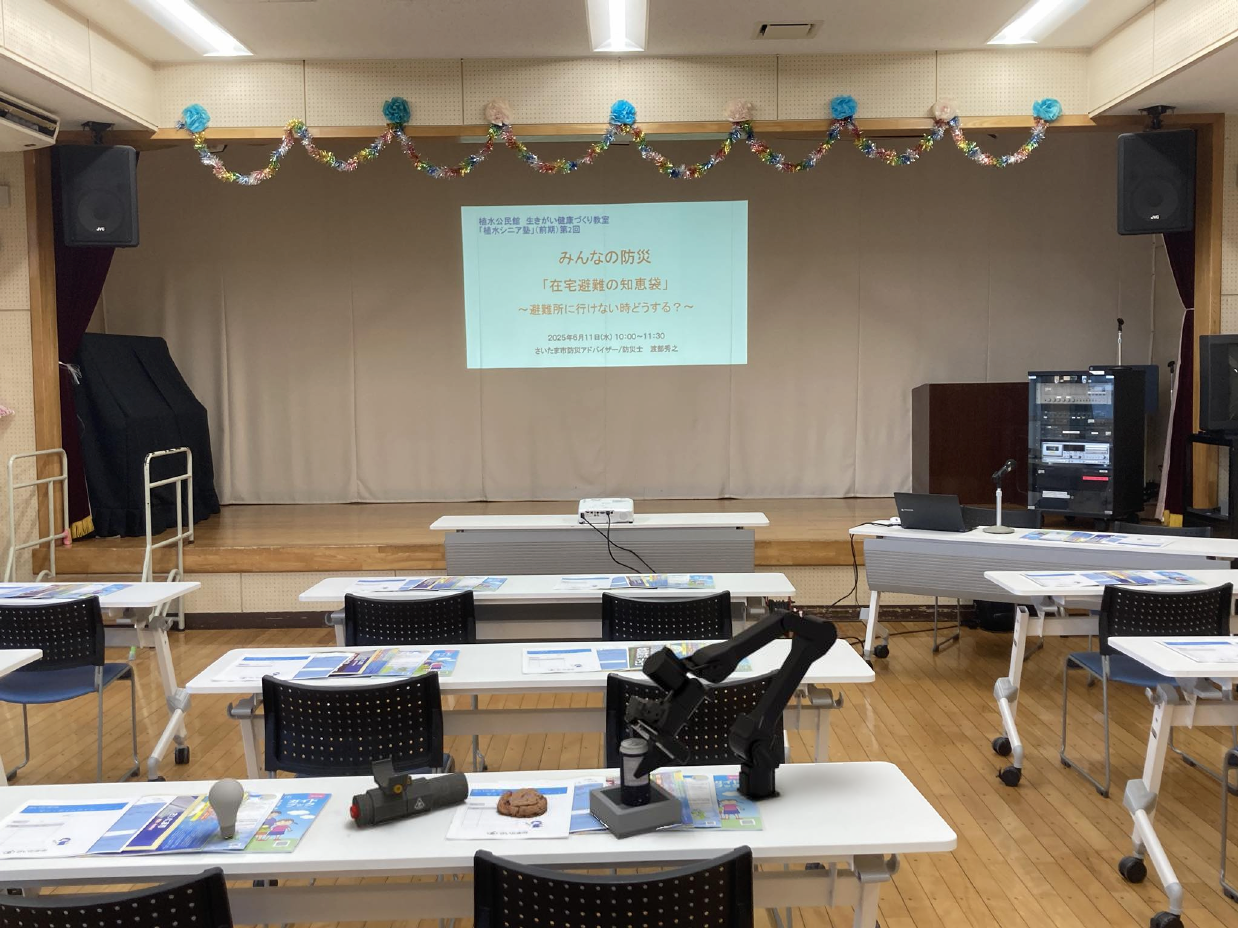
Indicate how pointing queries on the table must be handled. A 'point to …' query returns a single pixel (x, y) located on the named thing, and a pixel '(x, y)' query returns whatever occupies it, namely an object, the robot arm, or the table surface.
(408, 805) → the laser sight
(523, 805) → the cookie
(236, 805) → the lightbulb
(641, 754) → the beverage can
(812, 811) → the table surface
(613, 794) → the can bin
